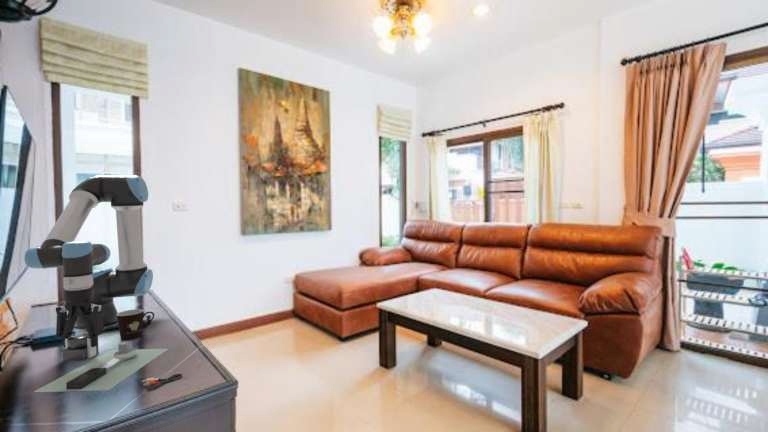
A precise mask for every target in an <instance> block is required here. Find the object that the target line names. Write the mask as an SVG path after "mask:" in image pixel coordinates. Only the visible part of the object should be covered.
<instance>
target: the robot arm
mask: <svg viewBox="0 0 768 432" xmlns="http://www.w3.org/2000/svg"><path fill="white" fill-rule="evenodd" d="M68 199H69V200H68V203H67V205H66V206H65V207H64V209H63V211H62V212H61V214H60V216H59V217H58V218H57V220H56V221H55V223H54V225H53V226H52V228H51V230H50V231H49V233H48V234H47V236H45V239H44V241H43V242H42V243H41V245H40V246H39V245H38V246H37V245H36V246H32V247H30V248H28V249H26V251H25V253H24V263H25V265H26V266H27V267H28V268H29V269H42V270H43V269H44V270H45V269H52V268H53V269H55V268H57V269H58V268H62V272H63V274H62V278H63V279H62V280H63V282H62V283H63V289H64V291H63V300H64V302H65V304H64V305H61V306H57V307H56V308H55V312H56V329H55V331H56V332H55V336H56V337H57V338H59V337H60V338H61V339H62V345H63V346H62V347H63V348H64V349H66V348H68V339H69V338H70V337H73V336H74V333H73V331H74V328H77V329H78V328H79V329H86V331H87V334H89V337H88V338H87V351H88V358H87V359H91V358H93V357H95V356H96V355H97V354H96V346H97V345H98V346H99V336H100V335H102V334H104V333H105V327H104V326H105V325H109V324H112V323H115V322H118V321H117V316H116V314H117V313H119V312H118V310H117V307H116V305H115V303H114V298H126V297H139V296H145V295H147V294H148V293H149V291H150V290H151V288H152V285H153V281H154V279H153V278H154V272H153V270H152V269H150V268H148V264H146V263H145V262H144V259H143V257H144V255H143V244H142V243H143V241H142V239H143V238H142V228H141V227H142V226H141V211H140V210H141V209H142V208H143V207H144V203H146V202H147V201H148V200H149V189H148V186H147V183H146V181H145V180H144V178H143V177H142V176H139V175H133V174H132V175H131V174H123V175H122V174H118V175H117V174H99V175H95V176H94V175H93V176H91V177H88V178H87V179H85V180H84V181H82V182H80V183H79V184H77V186H75V187H74V188H73V190H71V193H70V194H69V195H68ZM100 203H110V207H111V208H113V209H114V211H115V217H116V218H115V219H116V232H117V234H116V235H117V246H118V247H117V248H118V249H117V250H118V251H117V252H118V263H119V264H118V265H117V266H115V270H114V269H113V268H112V267H106V268H99V269H95V270H94V266H95V267H96V266H99V265H102V264H104V263H106V262H107V261H108V260H109V259H110V258H111V257H110V256H111V250H110V248H109V247H108V246H107V245H105V244H102V243H92V242H91V241H89V240H88V241H87V240H83V241H81V240H80V241H79V240H78V241H75V239H76V238H77V236H78V235H79V233H80V231H81V229H82V227H83V225H84V224H85V222H86V220H87V218H88V216H89V214H91V211H92V210H93V209H94V208H96V207H98V205H99V204H100Z"/></svg>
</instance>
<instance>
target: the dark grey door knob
mask: <svg viewBox="0 0 768 432" xmlns="http://www.w3.org/2000/svg"><path fill="white" fill-rule="evenodd" d="M72 336H73V337H71V336H70V338H69V339H68V348H66V349H65V348H64V349H62V361H63V362H80V361H81V362H83V361H85V360H88V359H89V358H88V351H87V338H88V337H89V334H88V333H82V334H77V335H72ZM97 354H99V344H98V345H97V346H96V355H97Z"/></svg>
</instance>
